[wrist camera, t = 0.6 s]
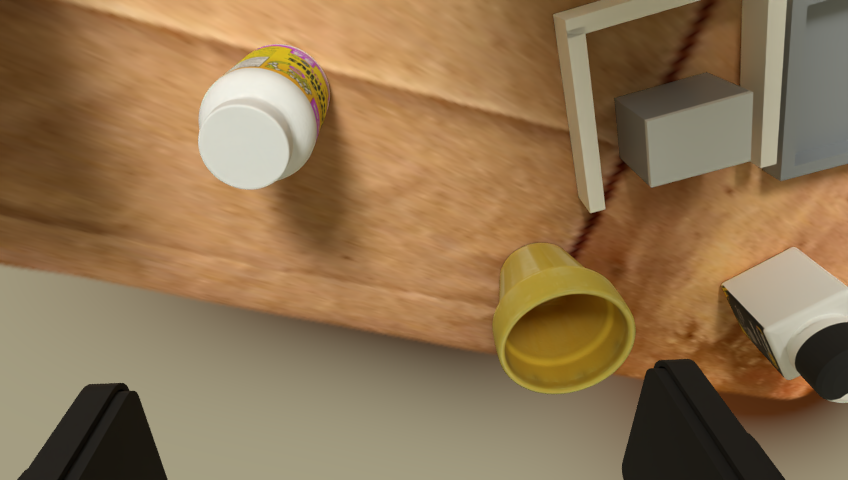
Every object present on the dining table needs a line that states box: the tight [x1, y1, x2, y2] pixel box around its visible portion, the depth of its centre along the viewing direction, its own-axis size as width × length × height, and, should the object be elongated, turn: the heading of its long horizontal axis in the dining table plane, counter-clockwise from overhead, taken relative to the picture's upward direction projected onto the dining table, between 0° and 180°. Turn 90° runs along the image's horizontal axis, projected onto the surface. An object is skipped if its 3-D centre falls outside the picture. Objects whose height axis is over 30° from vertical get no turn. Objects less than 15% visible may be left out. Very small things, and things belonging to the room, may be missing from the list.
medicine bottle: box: [721, 247, 848, 403], centre depth 46 cm, size 7×7×12 cm
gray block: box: [614, 72, 753, 188], centre depth 39 cm, size 5×7×6 cm
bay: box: [553, 0, 787, 213], centre depth 39 cm, size 15×14×3 cm
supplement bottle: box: [198, 44, 330, 190], centre depth 34 cm, size 7×7×13 cm
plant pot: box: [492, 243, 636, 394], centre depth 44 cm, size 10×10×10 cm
